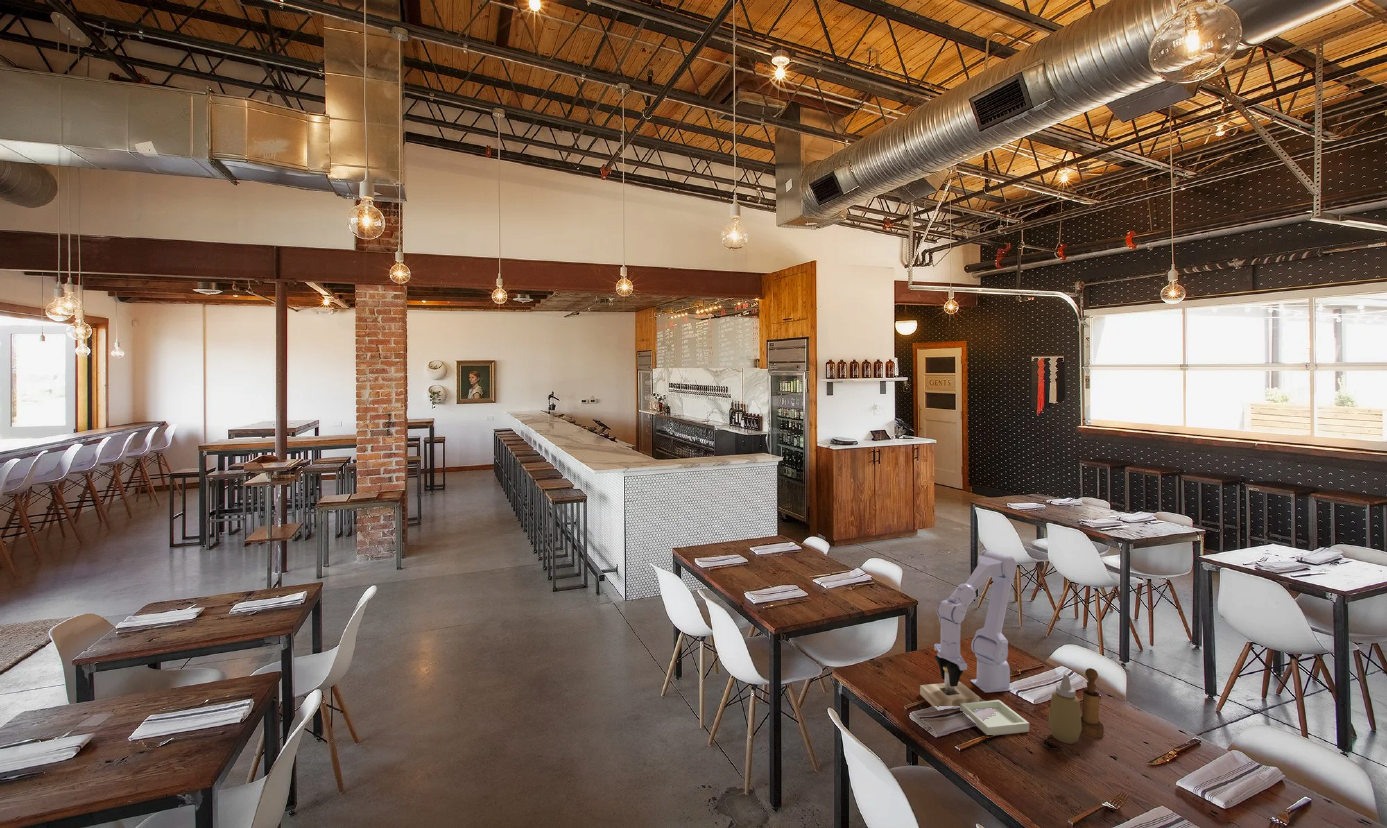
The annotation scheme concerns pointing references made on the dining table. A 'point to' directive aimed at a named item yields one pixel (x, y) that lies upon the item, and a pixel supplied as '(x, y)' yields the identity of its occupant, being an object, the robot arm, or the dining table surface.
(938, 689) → the hitch block
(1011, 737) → the dining table surface
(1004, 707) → the tray
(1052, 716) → the squeeze bottle
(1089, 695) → the wooden pepper mill
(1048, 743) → the dining table surface
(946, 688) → the pin
